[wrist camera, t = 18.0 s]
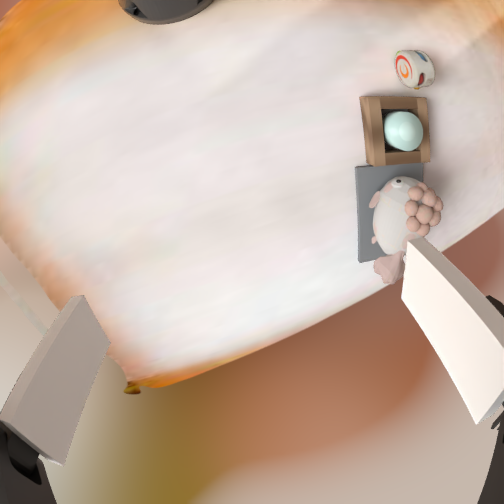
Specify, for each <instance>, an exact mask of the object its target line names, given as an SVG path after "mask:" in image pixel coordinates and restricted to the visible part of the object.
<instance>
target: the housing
mask: <svg viewBox="0 0 504 504" xmlns="http://www.w3.org/2000/svg"><path fill="white" fill-rule="evenodd" d="M359 98H360V105H361V112H362V120H363V129H364V138H365V149H366V161H367V163H368V164H370V165H372V166H374V167H377V166H387V165H398V164H411V163H425V162H430V139H429V123H428V111H427V101H426V98H422V97H396V96H368V97H359ZM381 109H408V112H409V113H412V114H414V115H415V116H416V117H417V118H418V119H419V120H420V122H421V124H422V128H423V138H422V141H421V143H420V145H419V146H418V147H417V148H416V149H414V150H412V151H404V150H401V149H385V145H384V133H383V123H382V114H381Z"/></svg>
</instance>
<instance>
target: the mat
mask: <svg viewBox="0 0 504 504" xmlns="http://www.w3.org/2000/svg"><path fill="white" fill-rule="evenodd" d="M355 176H356V192H357V213H358V261H359V262H360V263H362V262H367V261H372V260H376V259H377V258H379V257H381V256H386V255H387V254H386V253H385V252H384V251H383V250H382V248H381V247H380V245H379V243H378V242H377V241H376V242H375V243H374V244H372V237H374V236H375V234H374V230H373V216H374V210H375V207H374V208H370V207H369V203H370V201H371V199H372V197H373V196H374V194H375V193H376V192H377V191H381V189H382V188H383V187H384V186H385V185H386V183H387V182H388V181H390V180H392V179H393V178H395V177H400V176H406V177H410V178H413V179H416V180H418V181H420V182H423V163H411V164H398V165H387V166H377V167H374V166H372V165H371V166H361V167H355Z"/></svg>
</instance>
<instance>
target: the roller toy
mask: <svg viewBox="0 0 504 504" xmlns="http://www.w3.org/2000/svg"><path fill="white" fill-rule="evenodd" d="M395 69H396V73H397V75H398V77H399V79H400V81H401V82H402V83H403V84H404V85H405V86H407V87H409V88H414V89H419V88H420V87H427V86H430V85H431V84H432V83H433V81H434V78H435V69H434V66H433V63H432V61H431V59H430V58H429V57H428V55H427V54H425V53H424V52H422V51H419V50H409V51H398V52H397V54H396V57H395Z"/></svg>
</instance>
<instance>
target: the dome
mask: <svg viewBox="0 0 504 504" xmlns="http://www.w3.org/2000/svg"><path fill="white" fill-rule="evenodd" d="M382 123H383V133H384V141H385V142H386V143H387V144H388V145H390V146H392V147H395V148H398V149H401V150H404V151H412V150H414V149H416V148H417V147H418V146H419V145H420V143H421V141H422V138H423V128H422V124H421V122H420V120H419V119H418V118H417V117H416V116H415V115H414V114H412V113H409V112H401V111H391V112H388V113H387V114H385V115H384V116H383V118H382Z"/></svg>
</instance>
